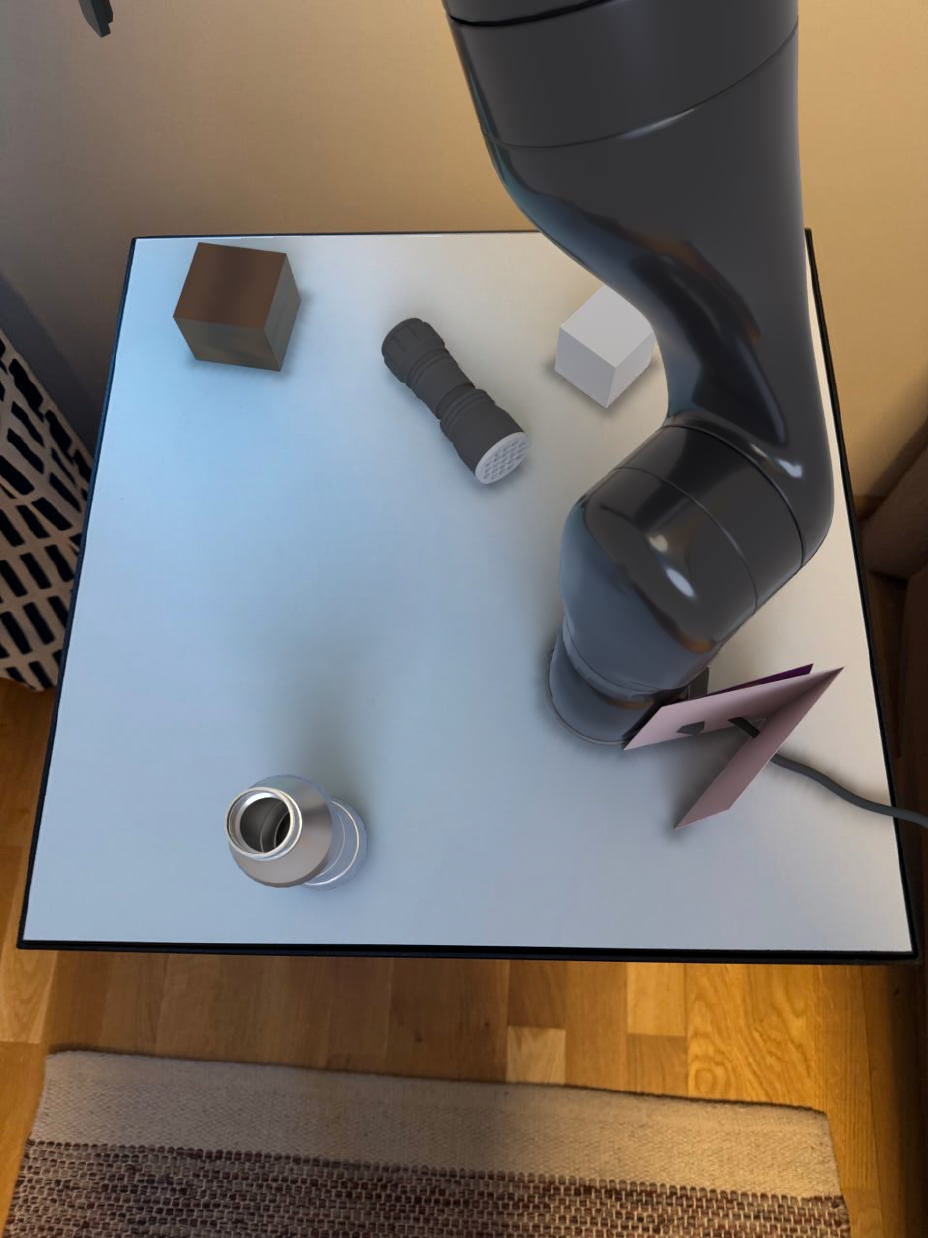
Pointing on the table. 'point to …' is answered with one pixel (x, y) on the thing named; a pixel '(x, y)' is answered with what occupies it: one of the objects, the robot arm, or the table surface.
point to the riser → (238, 306)
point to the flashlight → (455, 401)
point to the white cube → (604, 346)
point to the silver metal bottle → (294, 835)
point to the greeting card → (763, 698)
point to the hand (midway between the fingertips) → (42, 54)
